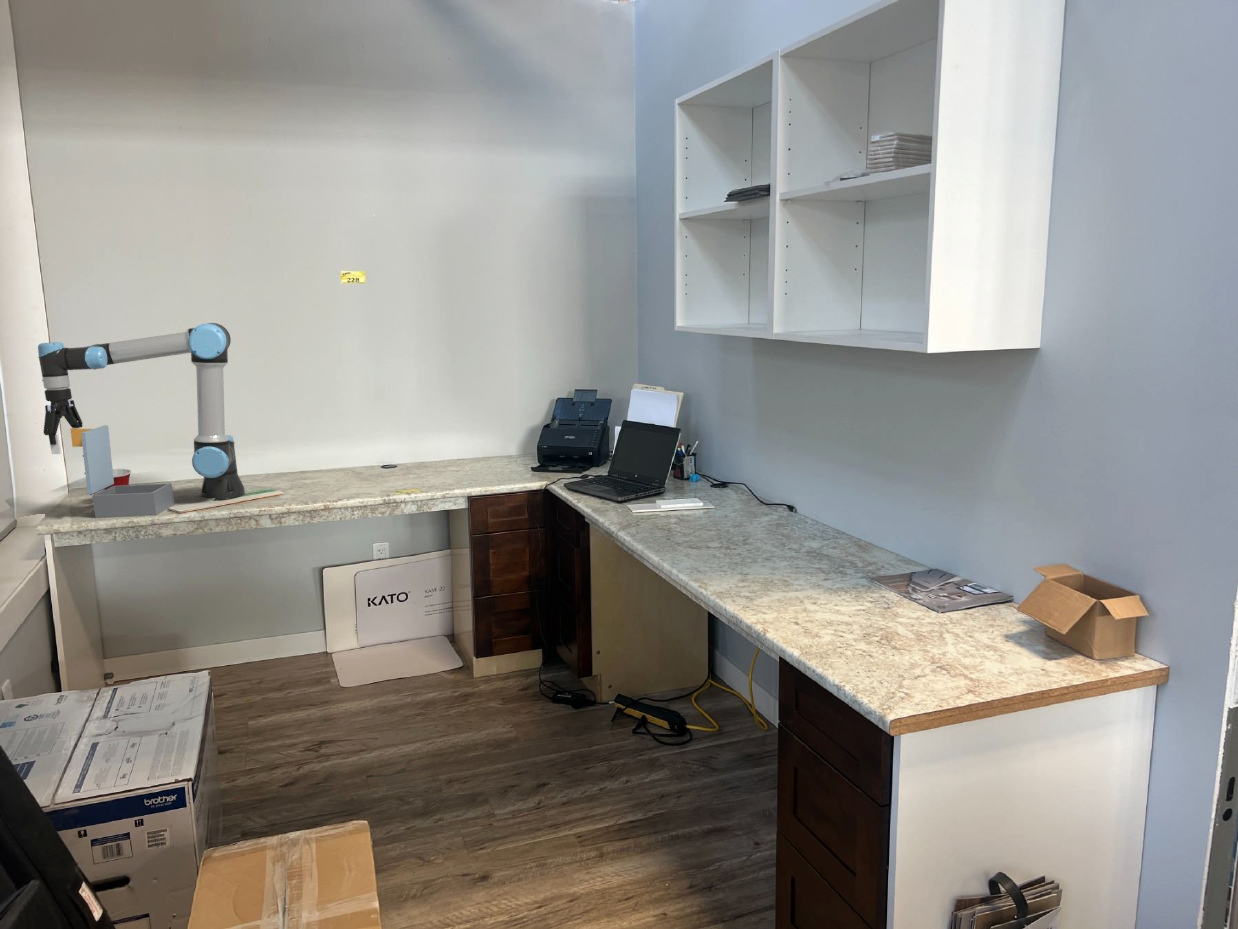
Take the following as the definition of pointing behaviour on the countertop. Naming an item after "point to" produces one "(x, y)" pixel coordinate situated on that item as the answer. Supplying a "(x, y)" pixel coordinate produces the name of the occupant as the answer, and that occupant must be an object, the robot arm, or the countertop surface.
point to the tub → (133, 500)
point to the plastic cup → (120, 477)
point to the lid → (95, 457)
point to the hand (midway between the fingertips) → (67, 450)
